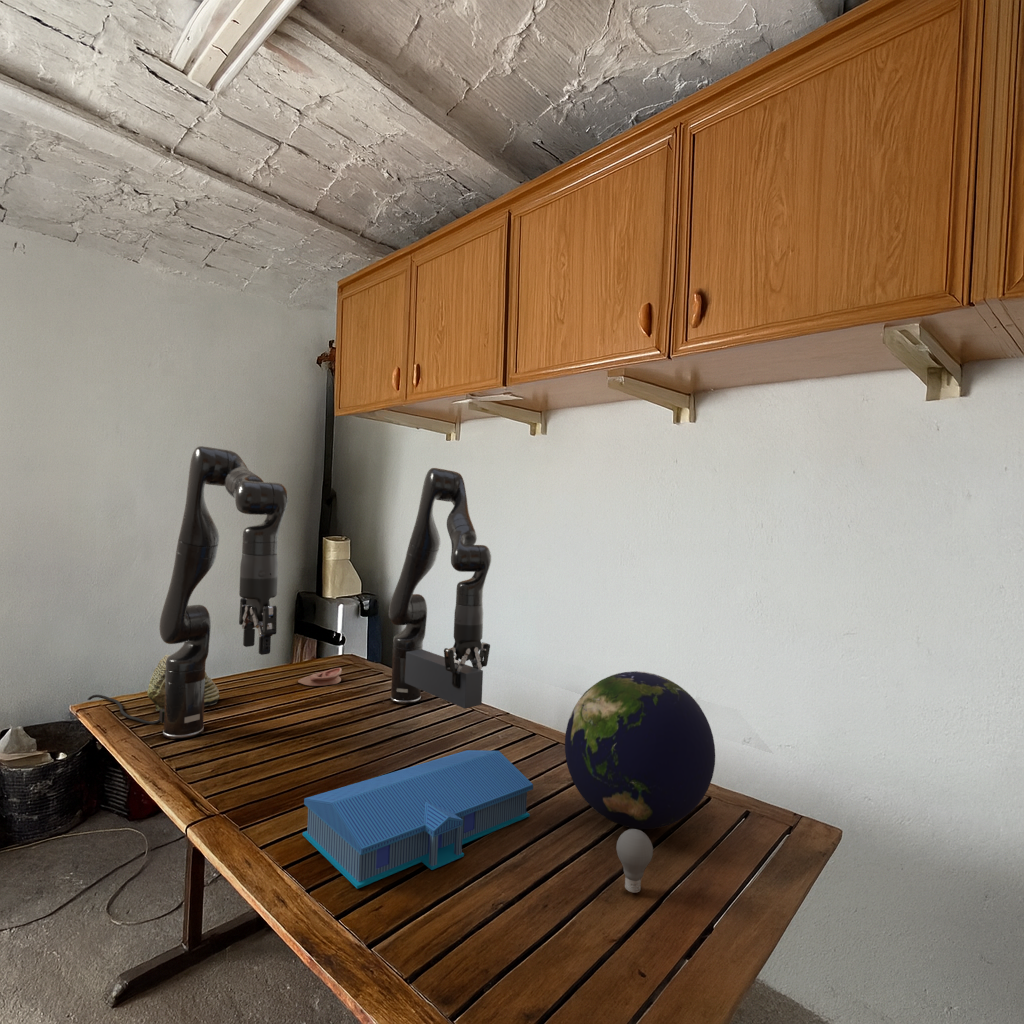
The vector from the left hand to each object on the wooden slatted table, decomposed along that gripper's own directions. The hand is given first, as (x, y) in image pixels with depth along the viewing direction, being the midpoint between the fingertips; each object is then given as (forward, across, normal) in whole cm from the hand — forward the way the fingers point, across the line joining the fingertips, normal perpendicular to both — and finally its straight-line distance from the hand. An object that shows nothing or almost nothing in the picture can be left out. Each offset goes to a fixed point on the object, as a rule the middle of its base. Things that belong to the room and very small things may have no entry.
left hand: (256, 650), depth 136 cm
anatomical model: (+30, +63, -47) cm, 84 cm away
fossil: (+30, +62, -4) cm, 69 cm away
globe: (+30, -61, -54) cm, 87 cm away
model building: (+30, -37, -19) cm, 51 cm away
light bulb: (+30, -75, -34) cm, 88 cm away
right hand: (+14, -9, -52) cm, 54 cm away
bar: (+19, +2, -52) cm, 55 cm away
